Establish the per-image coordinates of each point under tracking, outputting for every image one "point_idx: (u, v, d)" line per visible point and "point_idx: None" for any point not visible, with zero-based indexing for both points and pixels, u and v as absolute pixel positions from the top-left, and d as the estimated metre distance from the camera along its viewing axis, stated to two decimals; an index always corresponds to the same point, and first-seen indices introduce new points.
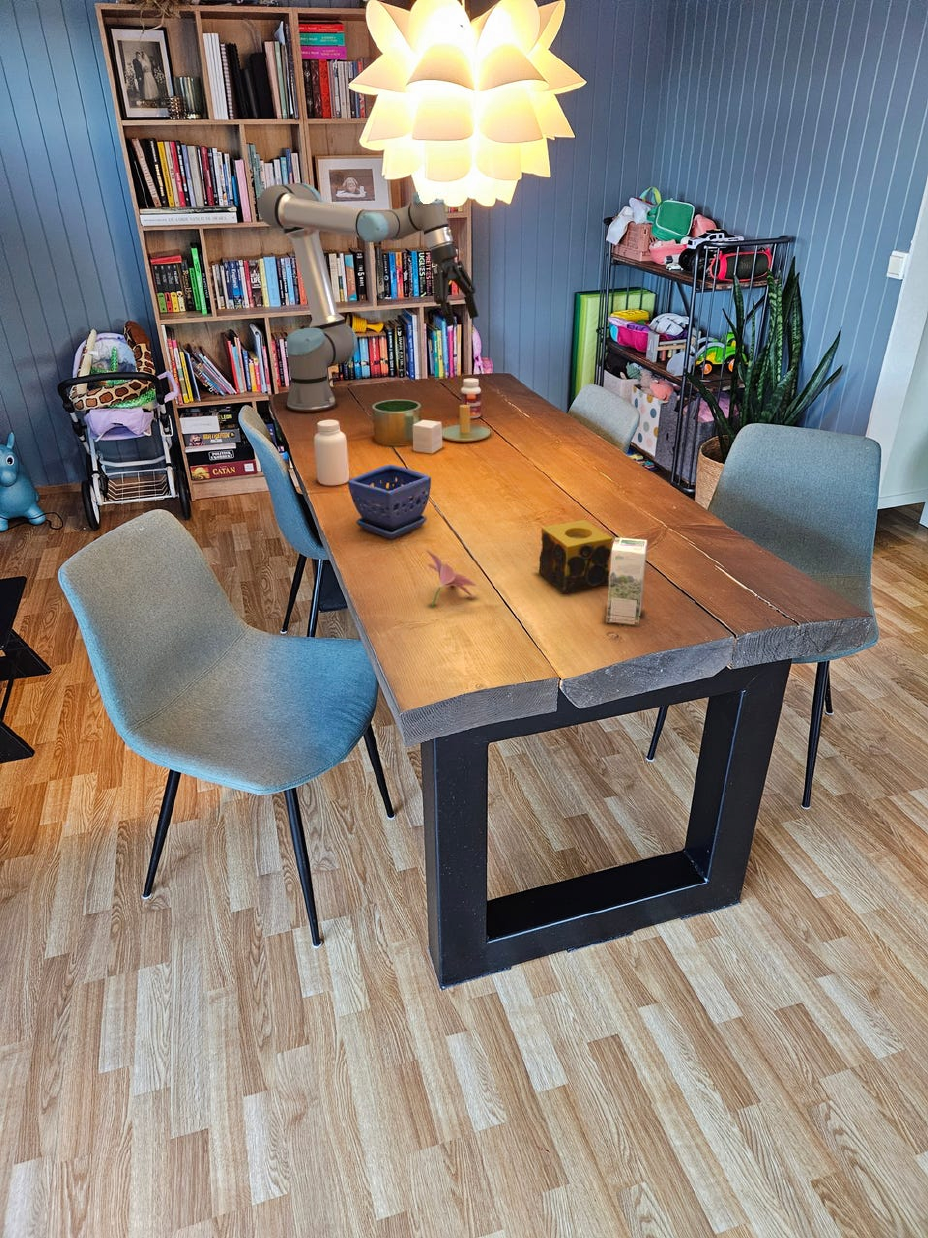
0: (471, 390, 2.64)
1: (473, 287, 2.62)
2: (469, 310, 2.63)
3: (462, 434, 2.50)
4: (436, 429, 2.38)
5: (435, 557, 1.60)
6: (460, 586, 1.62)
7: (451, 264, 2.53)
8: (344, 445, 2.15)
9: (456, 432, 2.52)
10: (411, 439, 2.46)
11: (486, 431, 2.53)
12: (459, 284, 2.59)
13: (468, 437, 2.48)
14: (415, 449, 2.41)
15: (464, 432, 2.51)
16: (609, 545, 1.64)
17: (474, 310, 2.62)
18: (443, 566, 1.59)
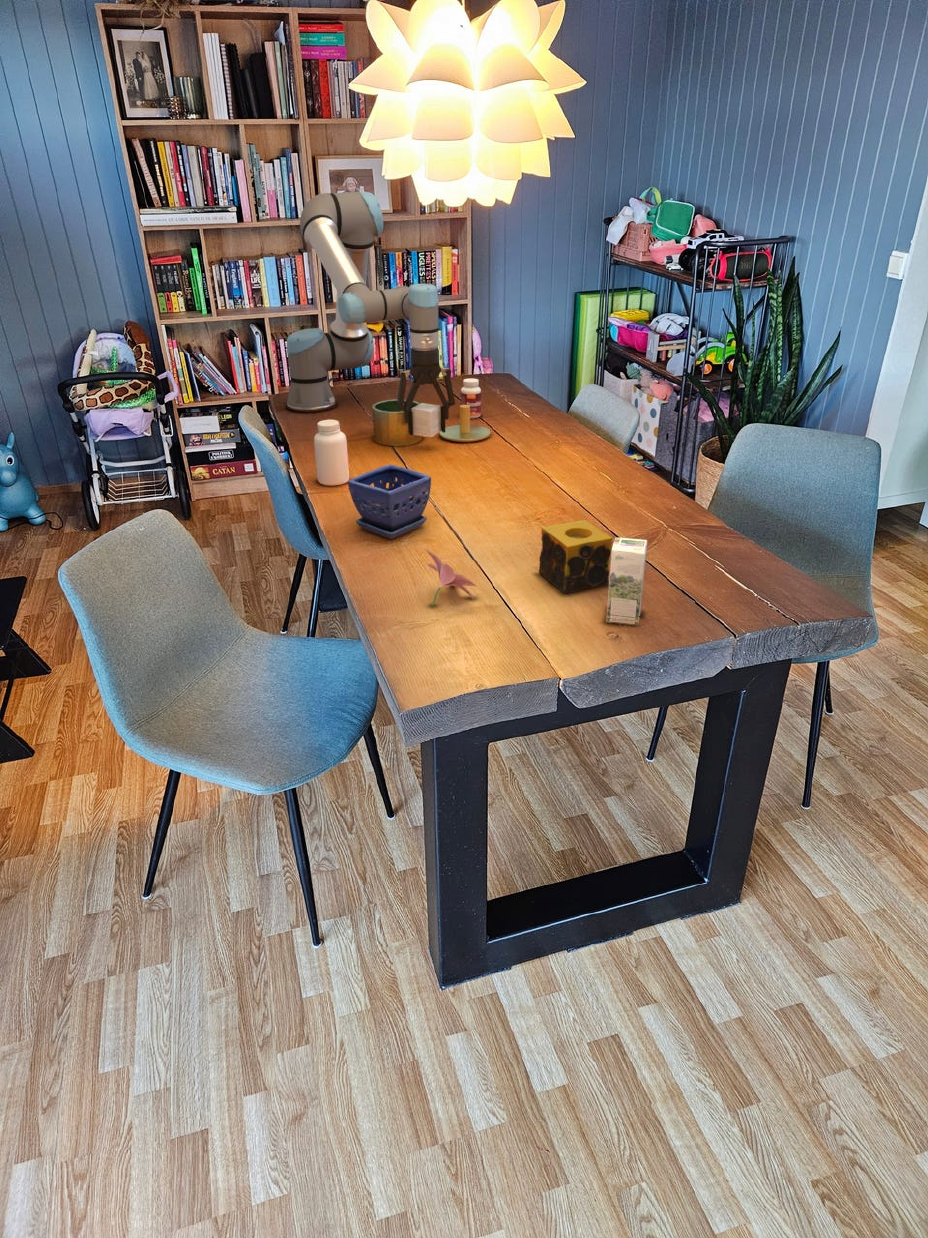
0: (471, 390, 2.64)
1: (452, 401, 2.37)
2: None
3: (462, 434, 2.50)
4: (435, 413, 2.36)
5: (435, 557, 1.60)
6: (460, 586, 1.62)
7: (428, 369, 2.31)
8: (344, 445, 2.15)
9: (456, 432, 2.52)
10: (411, 439, 2.46)
11: (486, 431, 2.53)
12: (436, 391, 2.36)
13: (468, 437, 2.48)
14: (414, 433, 2.39)
15: (464, 432, 2.51)
16: (609, 545, 1.64)
17: (442, 426, 2.40)
18: (443, 566, 1.59)
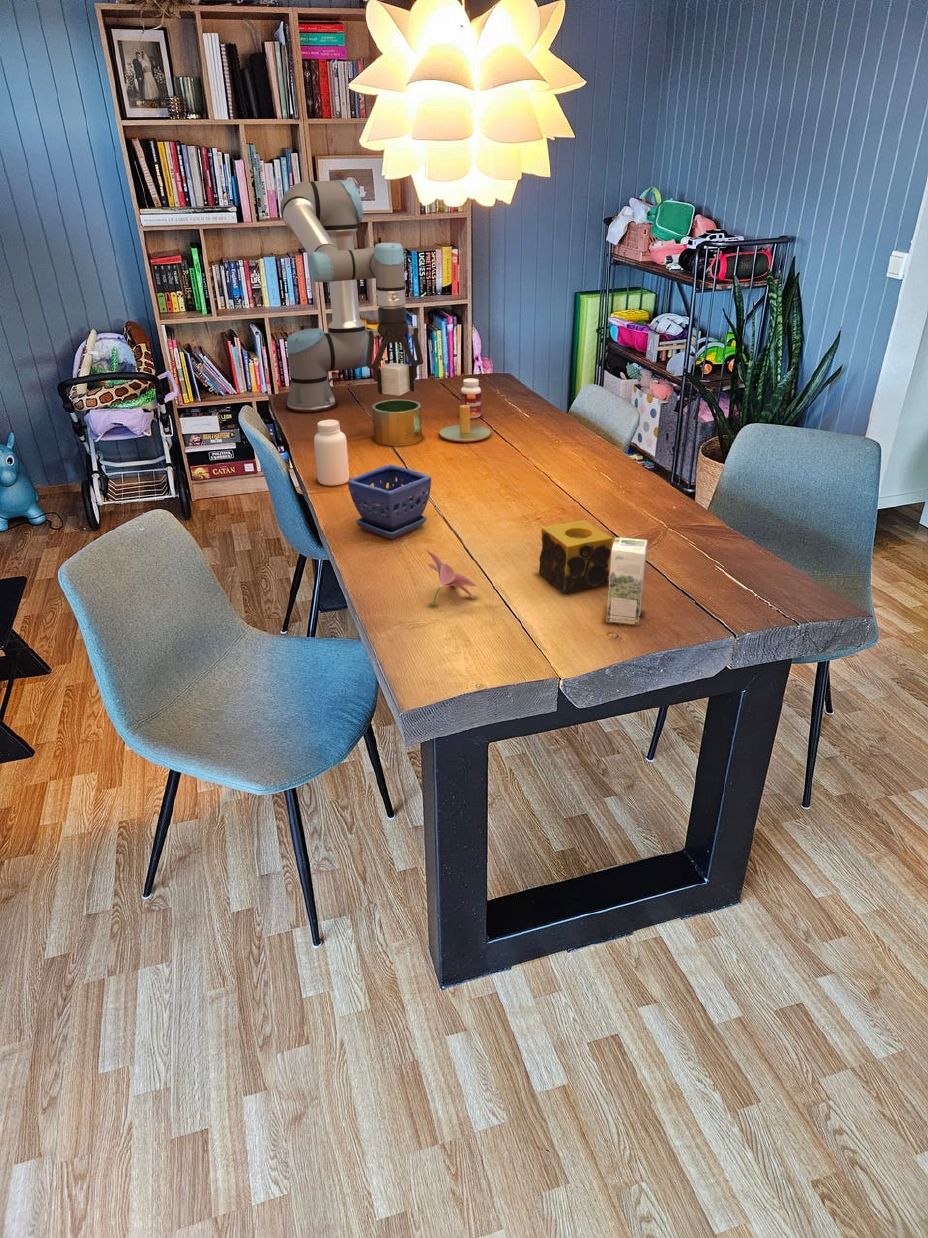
0: (471, 390, 2.64)
1: (420, 360, 2.41)
2: None
3: (462, 434, 2.50)
4: (403, 371, 2.41)
5: (435, 557, 1.60)
6: (460, 586, 1.62)
7: (395, 327, 2.36)
8: (344, 445, 2.15)
9: (456, 432, 2.52)
10: (411, 439, 2.46)
11: (486, 431, 2.53)
12: (404, 350, 2.41)
13: (468, 437, 2.48)
14: (383, 391, 2.43)
15: (464, 432, 2.51)
16: (609, 545, 1.64)
17: (411, 385, 2.44)
18: (443, 566, 1.59)
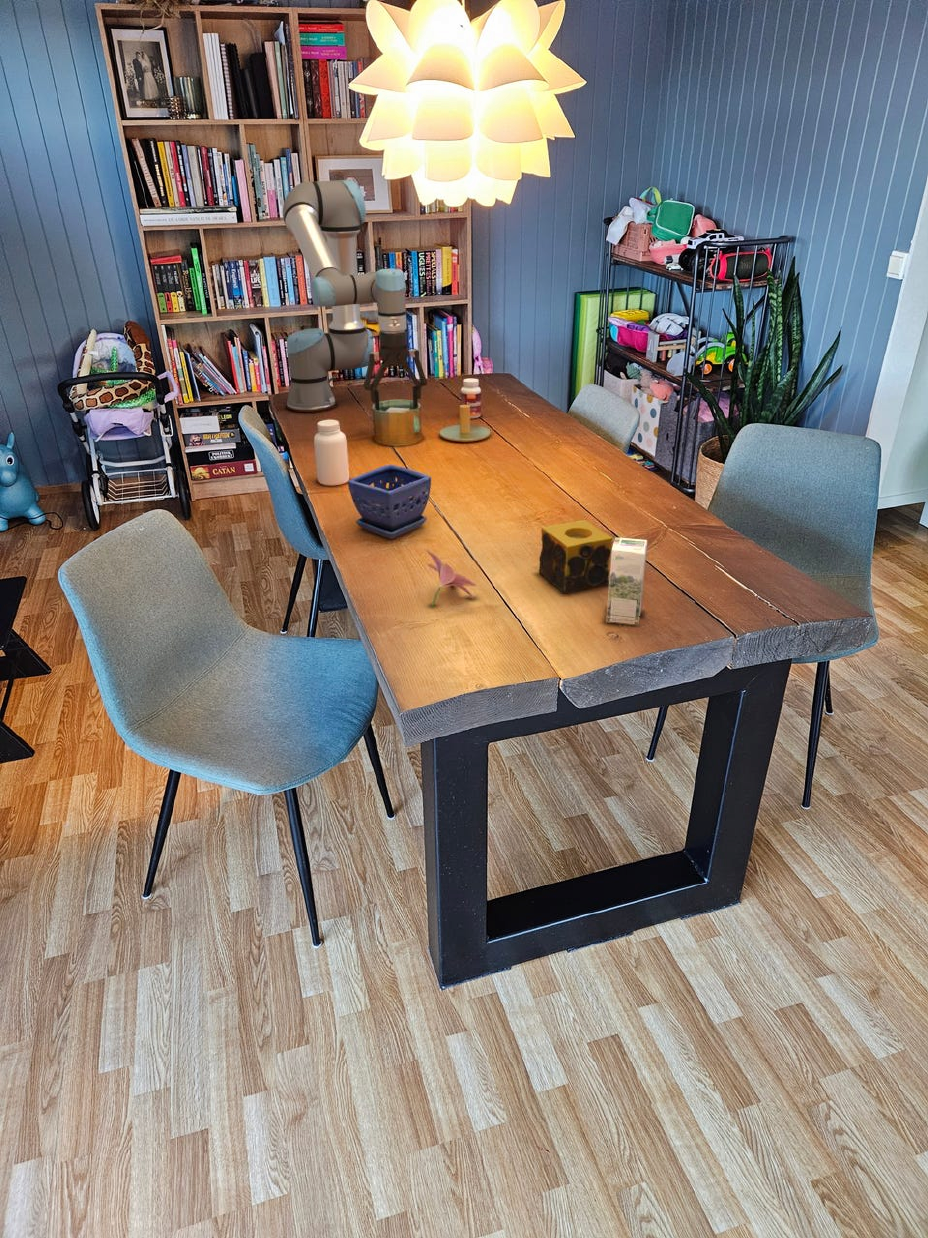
0: (471, 390, 2.64)
1: (424, 381, 2.44)
2: (413, 401, 2.48)
3: (462, 434, 2.50)
4: None
5: (435, 557, 1.60)
6: (460, 586, 1.62)
7: (396, 351, 2.39)
8: (344, 445, 2.15)
9: (456, 432, 2.52)
10: (411, 439, 2.46)
11: (486, 431, 2.53)
12: (407, 372, 2.44)
13: (468, 437, 2.48)
14: None
15: (464, 432, 2.51)
16: (609, 545, 1.64)
17: (414, 405, 2.47)
18: (443, 566, 1.59)
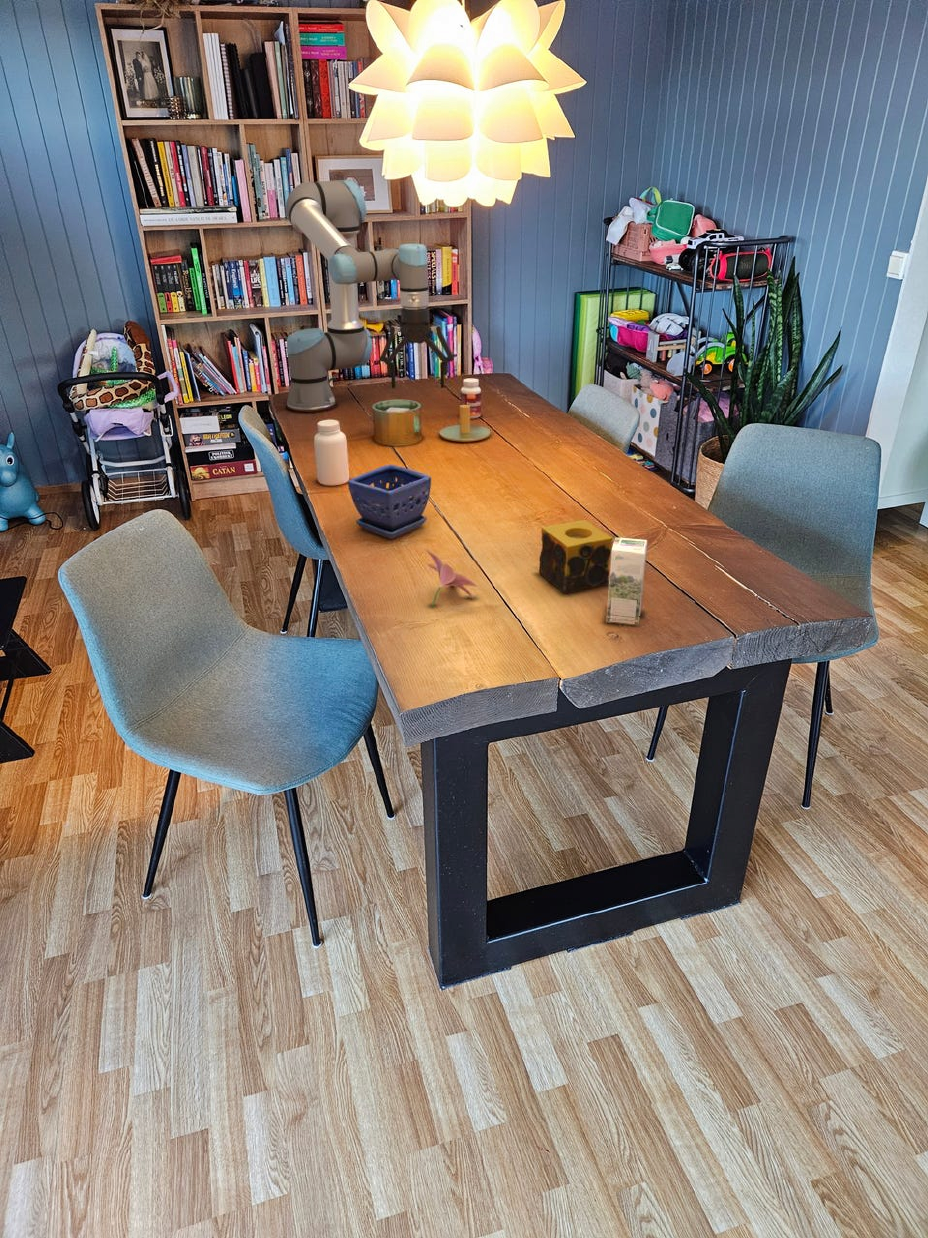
0: (471, 390, 2.64)
1: (450, 357, 2.39)
2: None
3: (462, 434, 2.50)
4: None
5: (435, 557, 1.60)
6: (460, 586, 1.62)
7: (417, 328, 2.36)
8: (344, 445, 2.15)
9: (456, 432, 2.52)
10: (411, 439, 2.46)
11: (486, 431, 2.53)
12: None
13: (468, 437, 2.48)
14: None
15: (464, 432, 2.51)
16: (609, 545, 1.64)
17: None
18: (443, 566, 1.59)
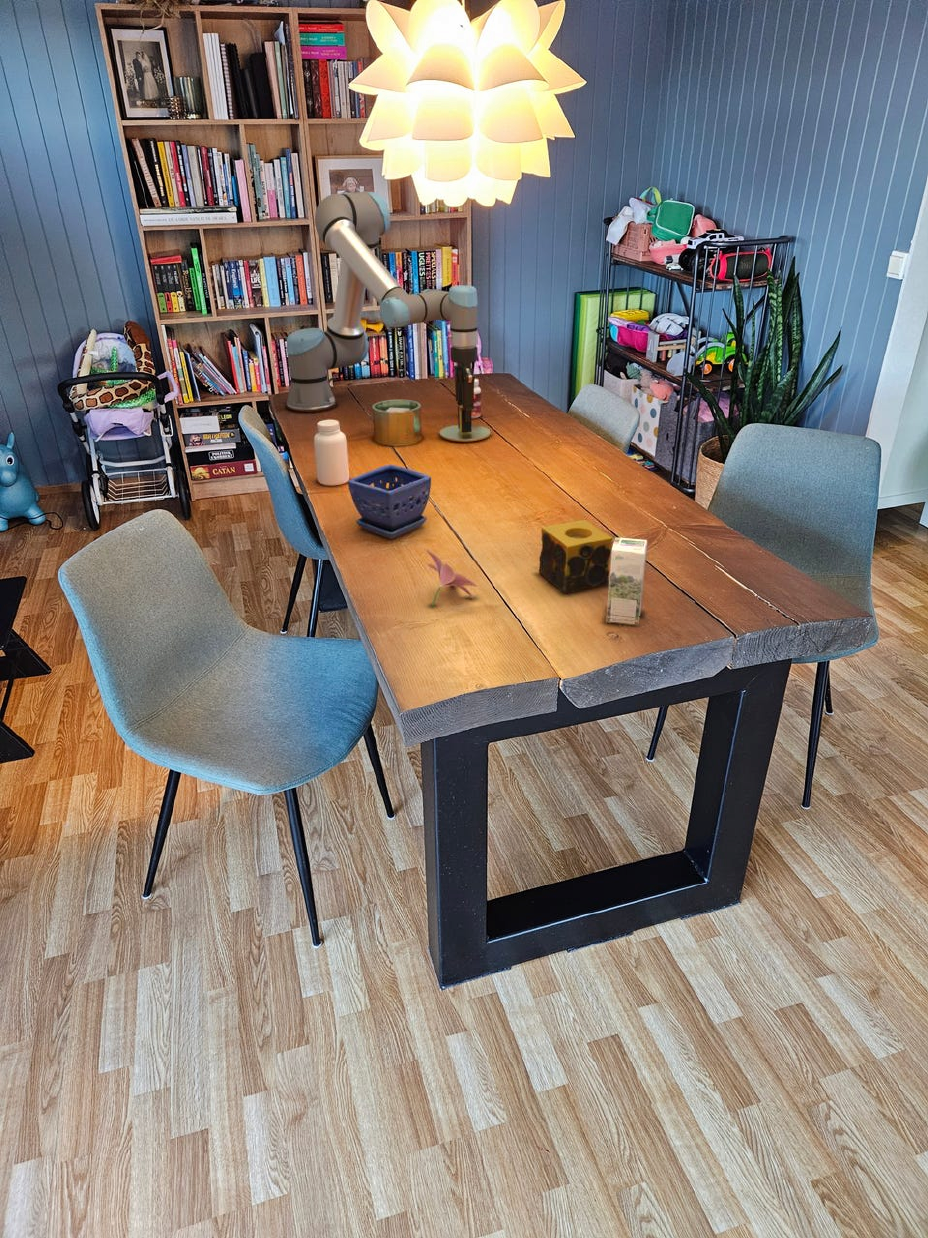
0: None
1: (464, 405, 2.44)
2: None
3: (462, 434, 2.50)
4: None
5: (435, 557, 1.60)
6: (460, 586, 1.62)
7: (460, 366, 2.43)
8: (344, 445, 2.15)
9: (456, 432, 2.52)
10: (411, 439, 2.46)
11: (486, 431, 2.53)
12: None
13: (468, 437, 2.48)
14: None
15: None
16: (609, 545, 1.64)
17: None
18: (443, 566, 1.59)
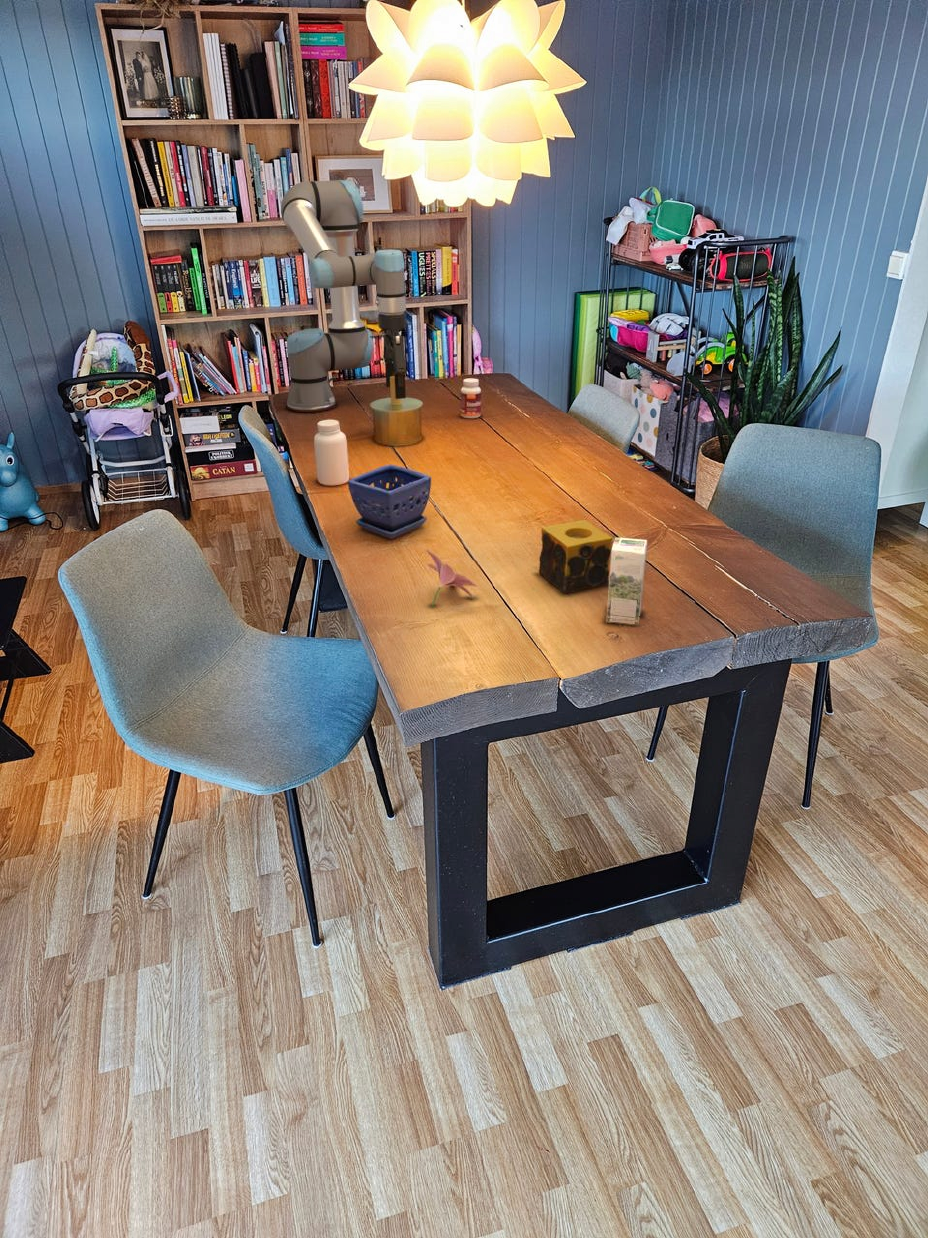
0: (471, 390, 2.64)
1: (396, 370, 2.33)
2: None
3: (393, 406, 2.44)
4: None
5: (435, 557, 1.60)
6: (460, 586, 1.62)
7: (389, 333, 2.37)
8: (344, 445, 2.15)
9: (387, 404, 2.46)
10: (411, 439, 2.46)
11: (418, 403, 2.47)
12: None
13: (398, 409, 2.42)
14: None
15: (395, 404, 2.45)
16: (609, 545, 1.64)
17: None
18: (443, 566, 1.59)
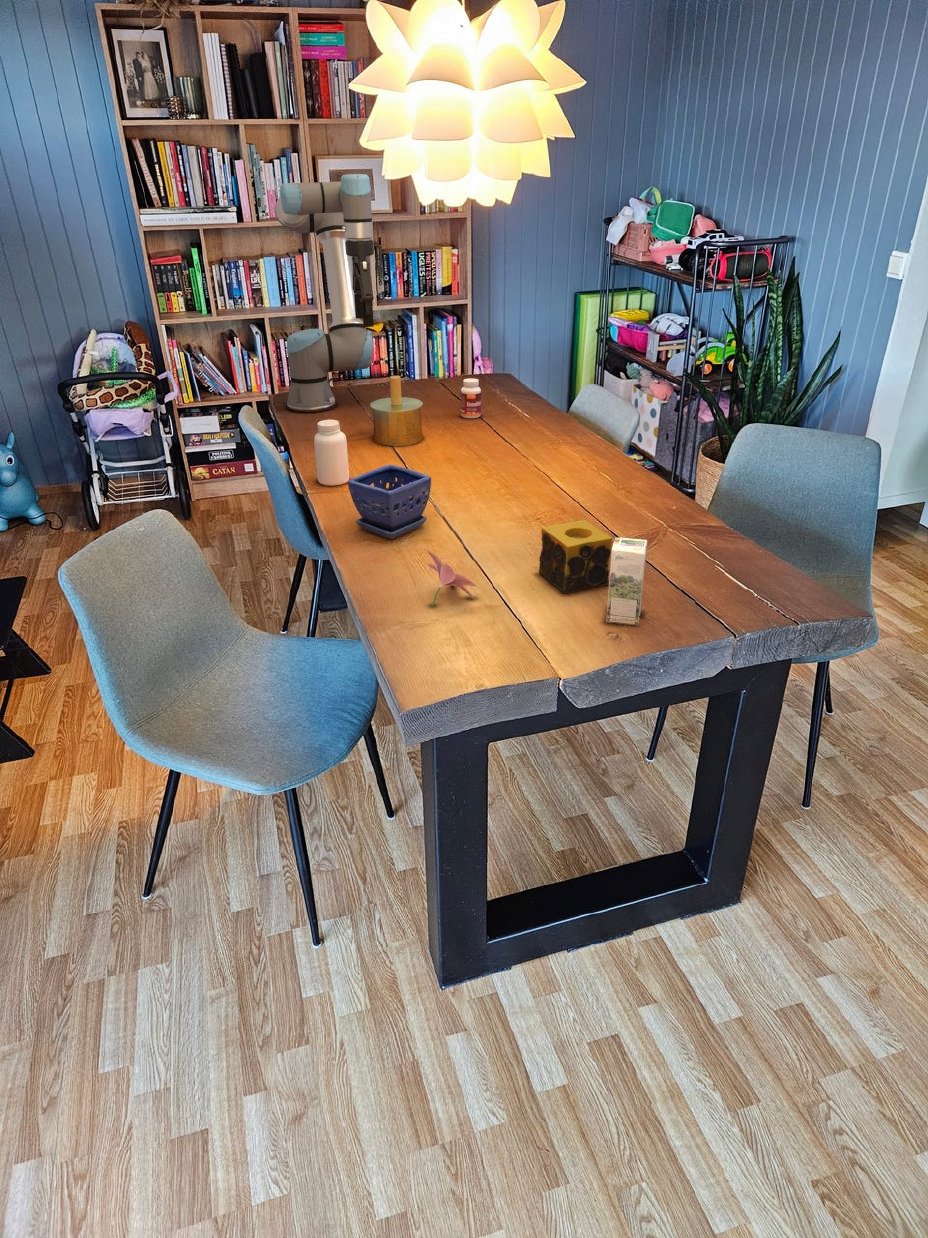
0: (471, 390, 2.64)
1: (363, 296, 2.32)
2: None
3: (393, 406, 2.44)
4: None
5: (435, 557, 1.60)
6: (460, 586, 1.62)
7: (356, 261, 2.35)
8: (344, 445, 2.15)
9: (387, 404, 2.46)
10: (411, 439, 2.46)
11: (418, 403, 2.47)
12: None
13: (398, 409, 2.42)
14: None
15: (395, 404, 2.45)
16: (609, 545, 1.64)
17: None
18: (443, 566, 1.59)
